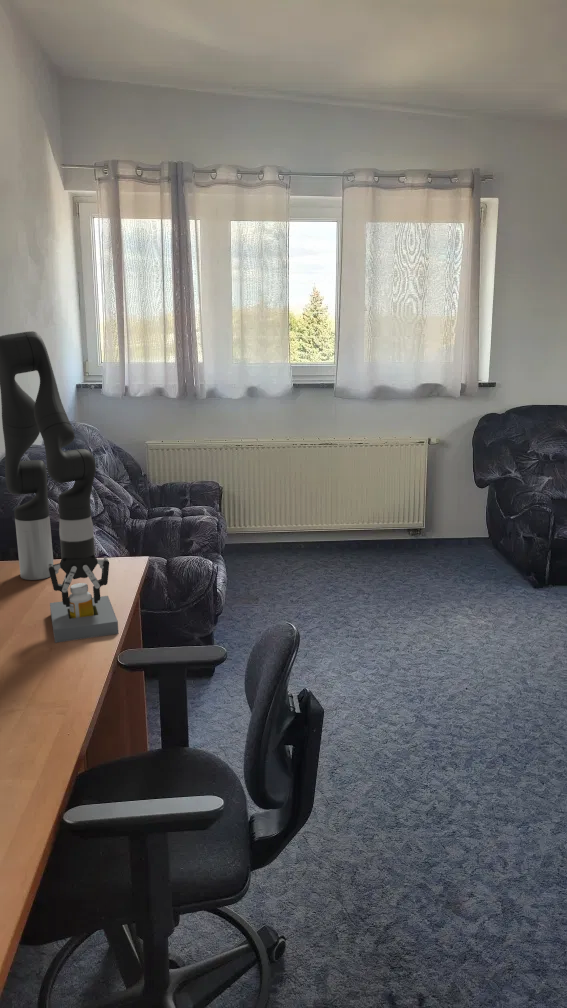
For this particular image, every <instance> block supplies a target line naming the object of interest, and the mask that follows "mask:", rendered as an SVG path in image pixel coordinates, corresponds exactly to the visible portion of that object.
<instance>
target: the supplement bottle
mask: <svg viewBox="0 0 567 1008" xmlns="http://www.w3.org/2000/svg"><path fill="white" fill-rule="evenodd" d="M69 587H70V588H69V590H70V593H71V594H70V595H68V596H69V609H70V618H79V617H86V616H94V612H93V602H92V598H93V596H92V593H91V592H89V586H88V583H86V582H85V583H84V582H80V583H79V582H78V583H74V584H72V585H70V586H69Z"/></svg>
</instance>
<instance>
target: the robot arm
mask: <svg viewBox="0 0 567 1008" xmlns="http://www.w3.org/2000/svg"><path fill="white" fill-rule="evenodd" d="M30 372H37V373H38V375H39V376H38V377H39V387H38V392H37V396H36V398H35V400H34V399H33V398H32V397H31V396H30V395H29V394H28V393H27V392H26V391H25V390H24V389H23V388H22V387H21V386H20V385H19V384H18V382H17V381H16V376H17V374H18V375H19V374H25V373H30ZM0 401H1V423H2V433H3V440H4V448H5V449H4V451H5V452H4V453H5V454H4V455H5V460H4V462H5V465H4V467H5V470H4V471H5V472H4V475H5V476H4V479H5V485H6V488H7V489H6V490H7V491H8V492H9V493H10V494H11V495H16V496H17V495H29V494H35V495H34V497H32V499H30V500H29V501H27V502H25V503H23V504H21V505H18V506H17V507H15V509H14V523H15V532H16V534H15V535H16V543H17V553H18V562H19V563H18V564H19V573H20V574H19V575H20V576H19V577H20V578H21V579H22V580H25V581H38V580H44V579H48V578H50V581H51V585H52V587H53V588H52V589H53V590H54V592H57V591H58V592H61V599H62V600H61V602H63V604H64V605H66V607H69V596H70V595H69V587H70V586H71V583H72V581H73V580H77V579H87V578H88V579H89V581H90V582H91V583H92V591H93V592H92V593H93V597H94V603H98V601H100V597H101V587H103V586H106V585H108V581H109V570H110V569H109V568H110V561H109V560H108V558H106V557H104V558H103V559H102V558H101V559H100V558H97V557H96V552H95V551H96V550H95V548H96V547H95V537H94V523H93V520H92V509H91V496H92V491H93V490H92V489H93V485H94V480H95V475H96V468H97V467H96V466H97V465H96V463H97V462H96V460H95V457H94V455H93V453H92V452H91V451H90V450H89V449H87V448H86V449H85V448H77V449H69V450H63V448H64V447H67V446H68V445H70V444H71V443H72V442H74V440H75V437H76V436H75V431H74V429H73V426H72V424H71V422H70V420H69V417H68V415H67V412H66V410H65V408H64V405H63V403H62V398H61V396H60V392H59V388H58V385H57V381H56V377H55V374H54V371H53V367H52V363H51V360H50V356H49V354H48V350H47V347H46V344H45V342H44V340H43V338H42V336H41V335H40V334H39V333H38V332H37V331H34V330H33V331H30V330H29V331H24V332H23V331H22V332H15V333H10V334H9V333H8V334H4V335H0ZM39 435H41V438H42V440H43V443H44V449H45V459H46V460H45V461H46V463H45V462H44V461H43V460H42V459H34V460H33V459H31V460H21V459H22V458H23V456H24V455H25V454H26V452H27V451H28V450H29V449H30V448H31V446H33V444H34V443H35V441H37V439H38V437H39ZM48 476H49V477H50V479H52V480H53V481H54V482H56V483H59V484H65V483H69V482H71V483H72V482H74V483H73V486H72V487H71V488H70V489H67V490H65V491H63V492H61V493H60V494H59V495H58V500H57V501H58V502H57V504H58V513H59V514H58V515H59V523H58V524H59V525H58V528H59V529H58V535H59V542H60V543H59V544H60V552H61V553H60V555H61V556H60V557H61V560H60V562H59V563H55V564H54V556H53V555H54V554H53V544H52V542H53V541H52V531H51V530H52V529H51V520H50V519H51V518H50V508H49V497H48V495H49V494H48ZM97 565H99V568H100V569H101V578H100V579H97V577H96V575H95V573H94V572H93V571H94V570H95V568H96V567H97ZM60 569H61V570H62V571H63V572H64V573H65V575H64V578H63V581H62V584H61V583H59V581H58V578H57V575H58V573H59V570H60Z"/></svg>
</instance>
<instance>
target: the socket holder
mask: <svg viewBox="0 0 567 1008" xmlns="http://www.w3.org/2000/svg"><path fill="white" fill-rule="evenodd" d="M92 602H93V612H94V616H86V617H79V618H70V609H69V607H66V605H64V604H63V602H62V601H55V602H49V606H50V607H49V608H50V617H51V618H50V619H51V625H52V632H53V637H54V638H53V639H54V644H55V643H56V644H57V643H63V642H64V643H65V642H69V641H77V640H84V639H90V638H97V637H105V636H111V635H117V634H119V621H118V619H117V616H116V613H115V611H114V608H113V604H112V602H111V600H110V598H109V595H103V596H101V595H100V601H98V603H94V596H92Z"/></svg>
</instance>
